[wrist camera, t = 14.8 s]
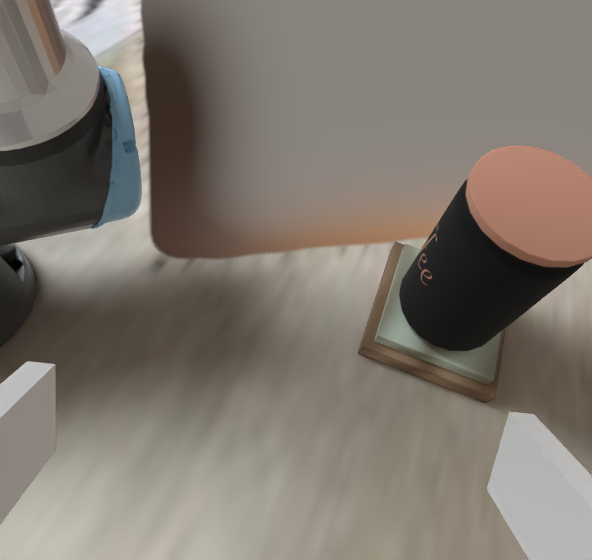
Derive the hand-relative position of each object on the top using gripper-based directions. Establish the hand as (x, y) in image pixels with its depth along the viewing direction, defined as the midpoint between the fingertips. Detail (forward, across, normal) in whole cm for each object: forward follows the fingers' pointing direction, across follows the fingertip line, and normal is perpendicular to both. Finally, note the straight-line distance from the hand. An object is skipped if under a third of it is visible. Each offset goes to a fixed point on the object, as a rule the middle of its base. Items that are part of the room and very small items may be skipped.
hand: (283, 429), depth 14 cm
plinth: (+37, +18, -9) cm, 42 cm away
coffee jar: (+34, +18, -6) cm, 39 cm away
